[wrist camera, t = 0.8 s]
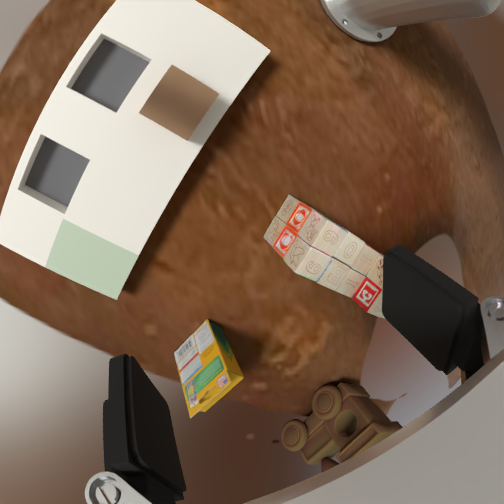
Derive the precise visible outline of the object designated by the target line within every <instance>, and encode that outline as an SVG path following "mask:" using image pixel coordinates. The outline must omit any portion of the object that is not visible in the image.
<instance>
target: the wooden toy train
mask: <svg viewBox="0 0 504 504" xmlns="http://www.w3.org/2000/svg"><path fill="white" fill-rule="evenodd" d="M369 397H370V395H369V394H368V393H367V392H366V391H365V389H364V388H363V387H362V386H359V385H353V384H346V383H341V382H340V383H339V385H338V386H337V387H335V386H333V385H325V386H322V387H320V388H319V389H318V390H317V391H316V393H315V394H314V396H313V399H312V410H313V413H312V414H311V415H310V416H309V417H308V418H307V419H306V420H305V421H304V422H302V421H300V420H298V419H293V420H290V421H289V422H287V423H286V424H285V425H284V427H283V429H282V432H281V441H282V444H283V446H284V447H286V448H287V449H288V450H290V451H298V450H299V451H300V453H301V455H302V457H303V459H304V460H305V462H306V463H307V464H321V467H322V472H324V471H326V470H328V469H331V468H333V467H335V466H337V465H339V463H338V462H336V461H334V460H332V459H331V458H332V457H333V456H335V455H336V454H337V453H338V452H339V451H340V453H339V454H338V455H337V456H336V457H337V459H338V461H339V462H340V464H341V463H343V462H345V461H346V460H348V459H350V458H352V457H354V456H356V455H358V454H360V453H361V452H363V451H365V450H367V449H369V448H370V447H372V446H374V445H375V444H377V443H379V442H381V441H382V440H384V439H386V438H387V437H389V436H390V435H392V434H394V433H395V432H397V431H398V430H400V429H401V428H403V427H402V426H401V425H400V424H399V422H397V421H395V422H391V421H390V420H389V418H388V417H387V416H386V415H385V414H384V413H383V412H382V410H381V409H380V408H379V407H378V406H377V405H376V404H375V403H373V402H372V401H371V400H370V399H369Z"/></svg>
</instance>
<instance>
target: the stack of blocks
mask: <svg viewBox="0 0 504 504" xmlns="http://www.w3.org/2000/svg"><path fill="white" fill-rule="evenodd" d="M264 238H265V239H266V241H267V242H268V243H269V244H270V245H271V246H272V247H273V248H274V250H275V251H276V252H277V253H278V254H279V255H280V256H281V257H282V258H283V260H284V261H285V263H286V264H287V265H288V266H289V267H290V268H291V269H292V270H293V271H294V272H295V273H297V274H299V275H301V276H303V277H306V278H308V279H310V280H313V281H315V282H317V283H318V284H320V285H323V286H325V287H327V288H330V289H332V290H334V291H336V292H338V293H340V294H343V295H345V296H348V297H351V298H352V299H353V300H354V301H355V302H356V303H357V304H358V305H359V306H360V307H362V308H363V309H364V310H365V311H366V312H367V313H370V314H372V315H375V316H377V317H380V318H381V317H382V318H384V319H385V317H384V316H383V314H382V290H383V257H384V255H382V254H381V253H379V252H377V251H376V250H374V249H373V248H371V247H370V246H368V245H367V244H366V243H365V242H364V241H363V240H361V239H360V238H358V237H357V236H355V235H354V234H352V233H351V232H349V231H348V230H346V229H345V228H343V227H341V226H339V225H338V224H336V223H334V222H333V221H331V220H330V219H328V218H327V217H325V216H324V215H322V214H321V213H319V212H318V211H316V210H314V209H313V208H311V207H309V206H308V205H306V204H304V203H303V202H301V201H299V200H297V199H296V198H294V197H292V196H291V195H288V197H287V198H286V200H285V202H284V203H283V205H282V207H281V208H280V210H279V212H278V213H277V215H276V216H275V218H274V219H273V221H272V223H271V224H270V226H269V228H268V229H267V231H266V233H265V235H264Z"/></svg>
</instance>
